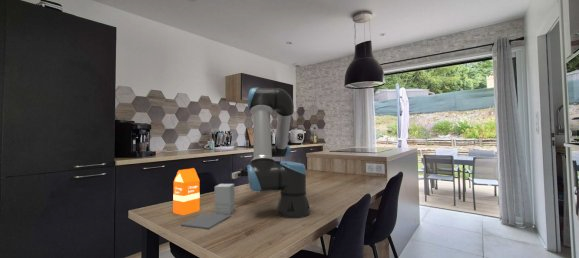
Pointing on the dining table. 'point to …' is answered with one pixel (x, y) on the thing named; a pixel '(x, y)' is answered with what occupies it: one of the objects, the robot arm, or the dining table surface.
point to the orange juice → (186, 192)
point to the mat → (206, 220)
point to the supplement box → (224, 199)
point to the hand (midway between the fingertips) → (233, 175)
